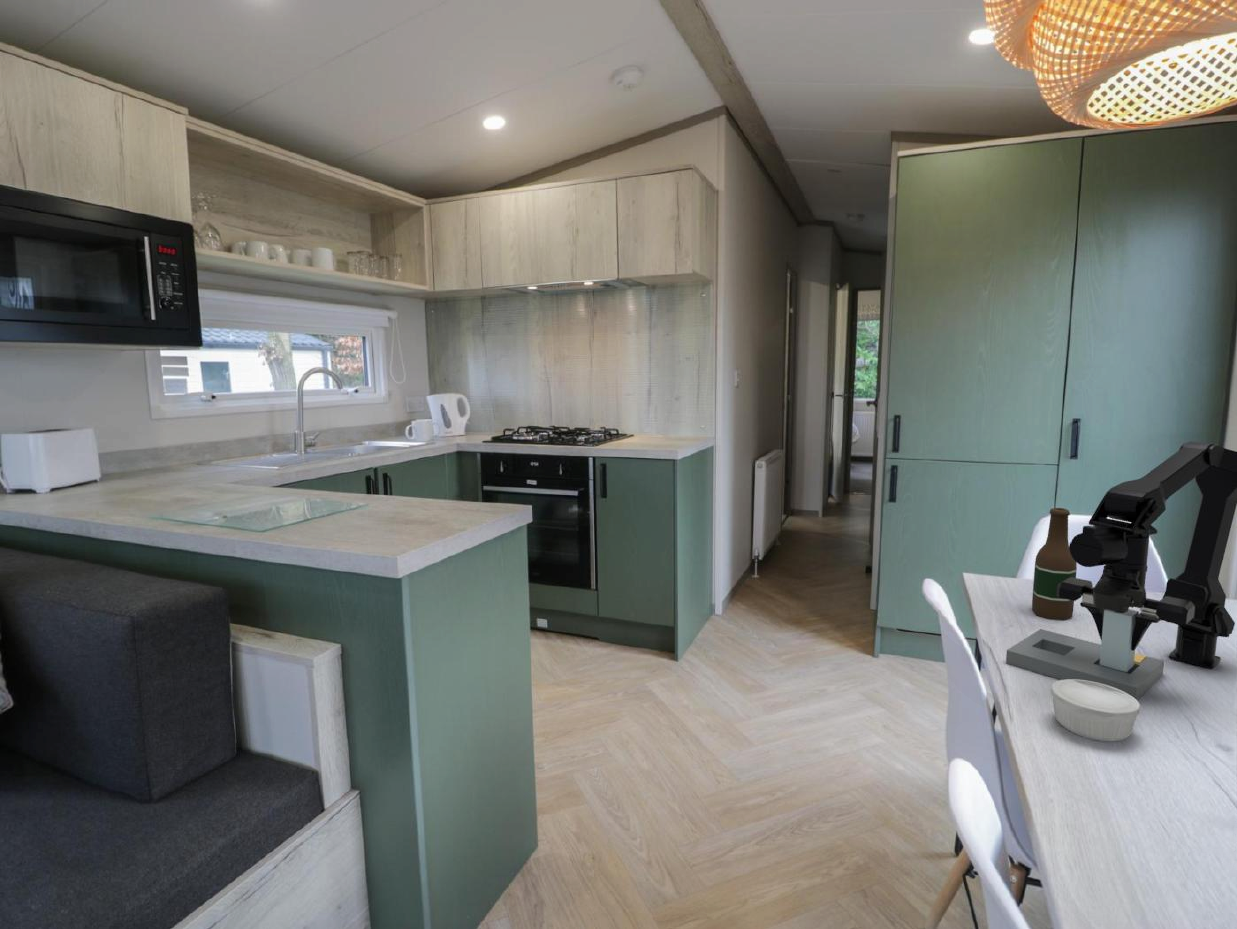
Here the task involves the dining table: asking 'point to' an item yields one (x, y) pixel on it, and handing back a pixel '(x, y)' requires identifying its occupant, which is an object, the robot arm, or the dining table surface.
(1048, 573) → the beer bottle
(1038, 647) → the socket panel
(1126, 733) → the ramekin
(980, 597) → the dining table surface
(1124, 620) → the plug
